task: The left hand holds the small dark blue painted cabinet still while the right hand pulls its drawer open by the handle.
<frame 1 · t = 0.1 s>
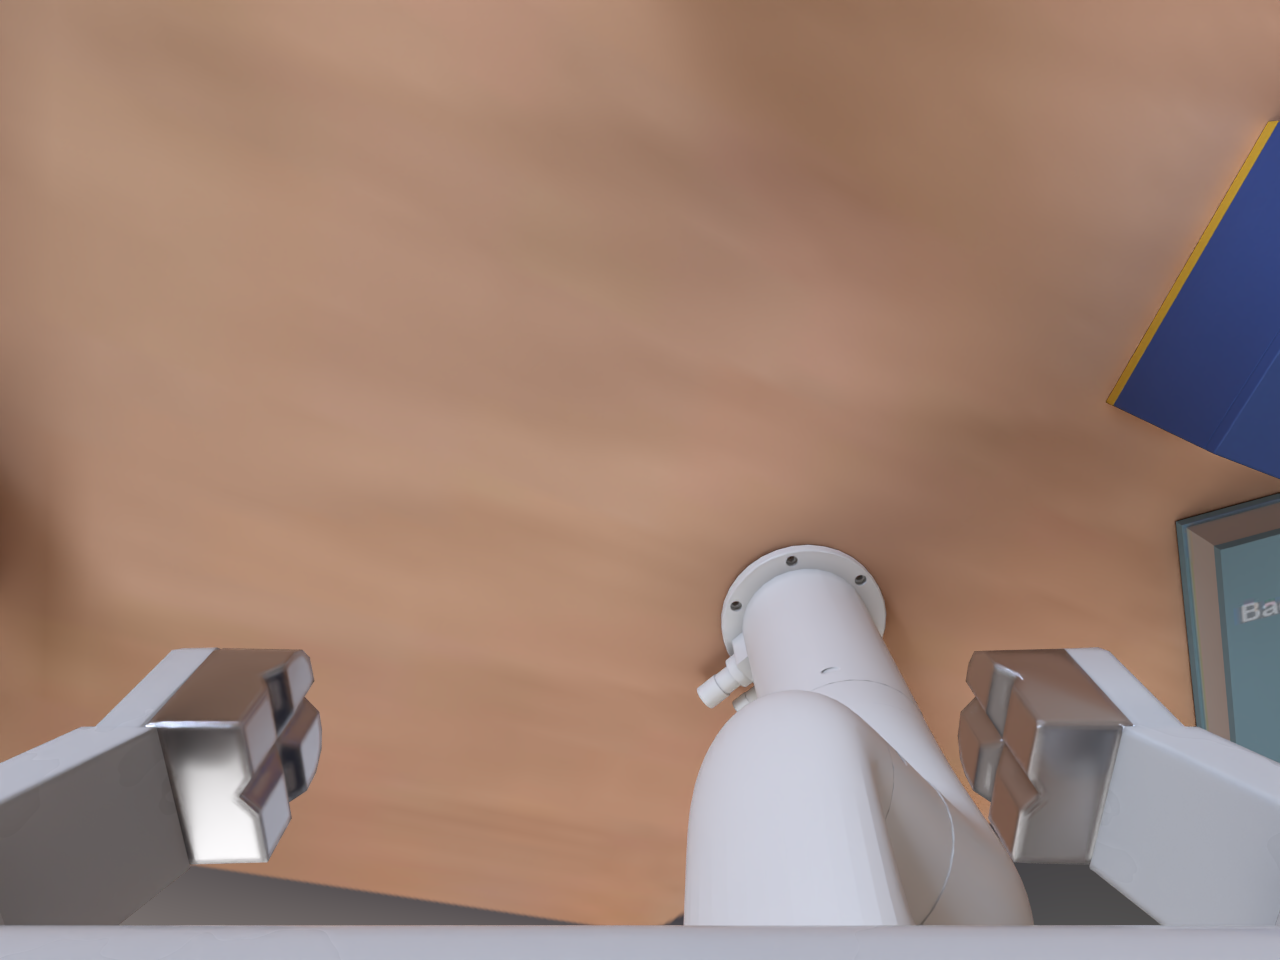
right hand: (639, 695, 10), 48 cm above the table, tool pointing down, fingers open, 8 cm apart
cabinet: (1222, 286, 56), on the table
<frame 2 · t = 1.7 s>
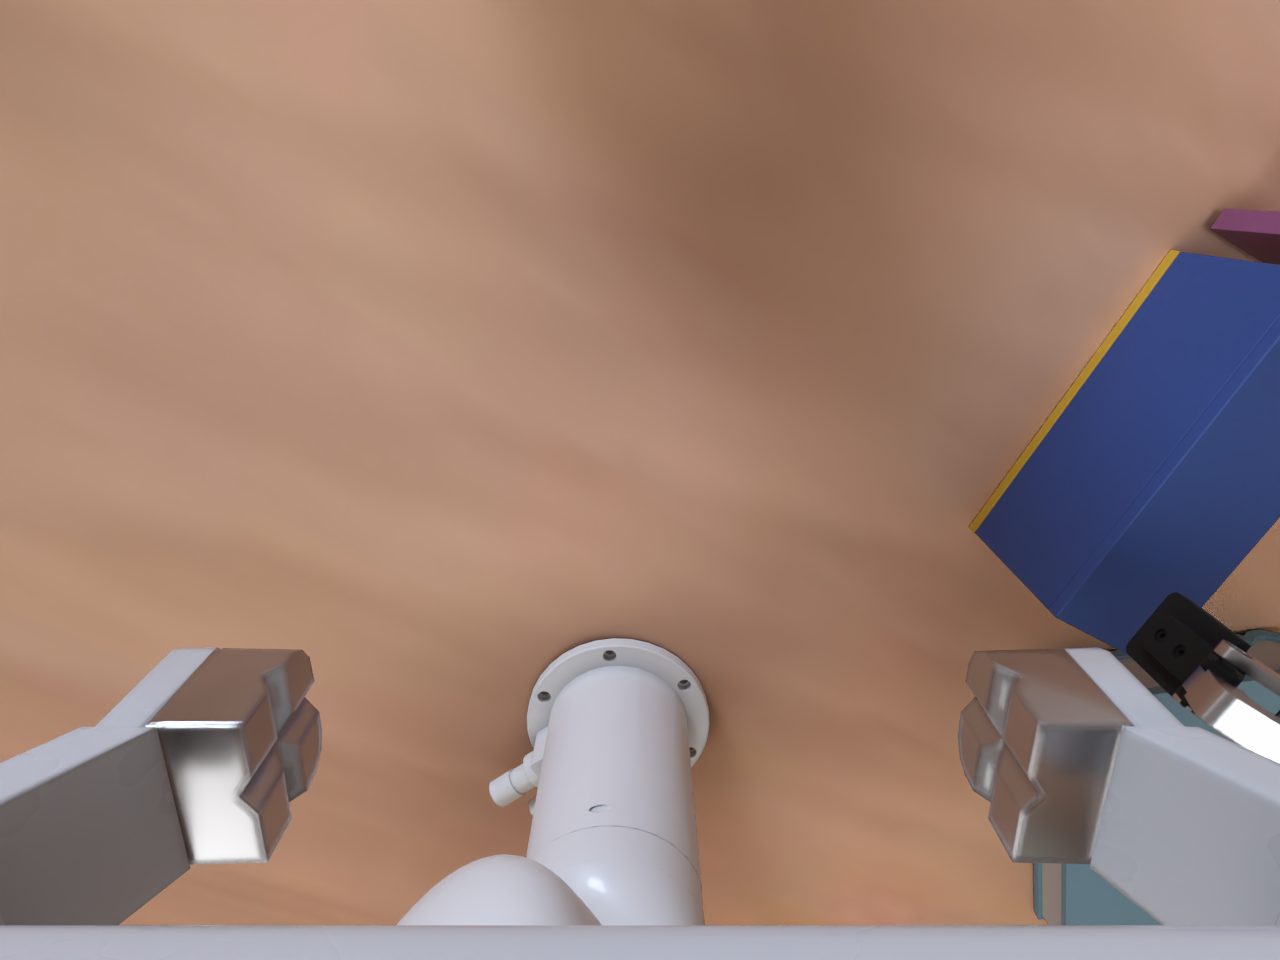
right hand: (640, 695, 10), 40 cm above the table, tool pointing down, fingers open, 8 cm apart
drawer: (1236, 353, 43), point 6 cm above the table, slide at 1.7 cm
cabinet: (1104, 420, 50), on the table
book: (1144, 777, 60), on the table
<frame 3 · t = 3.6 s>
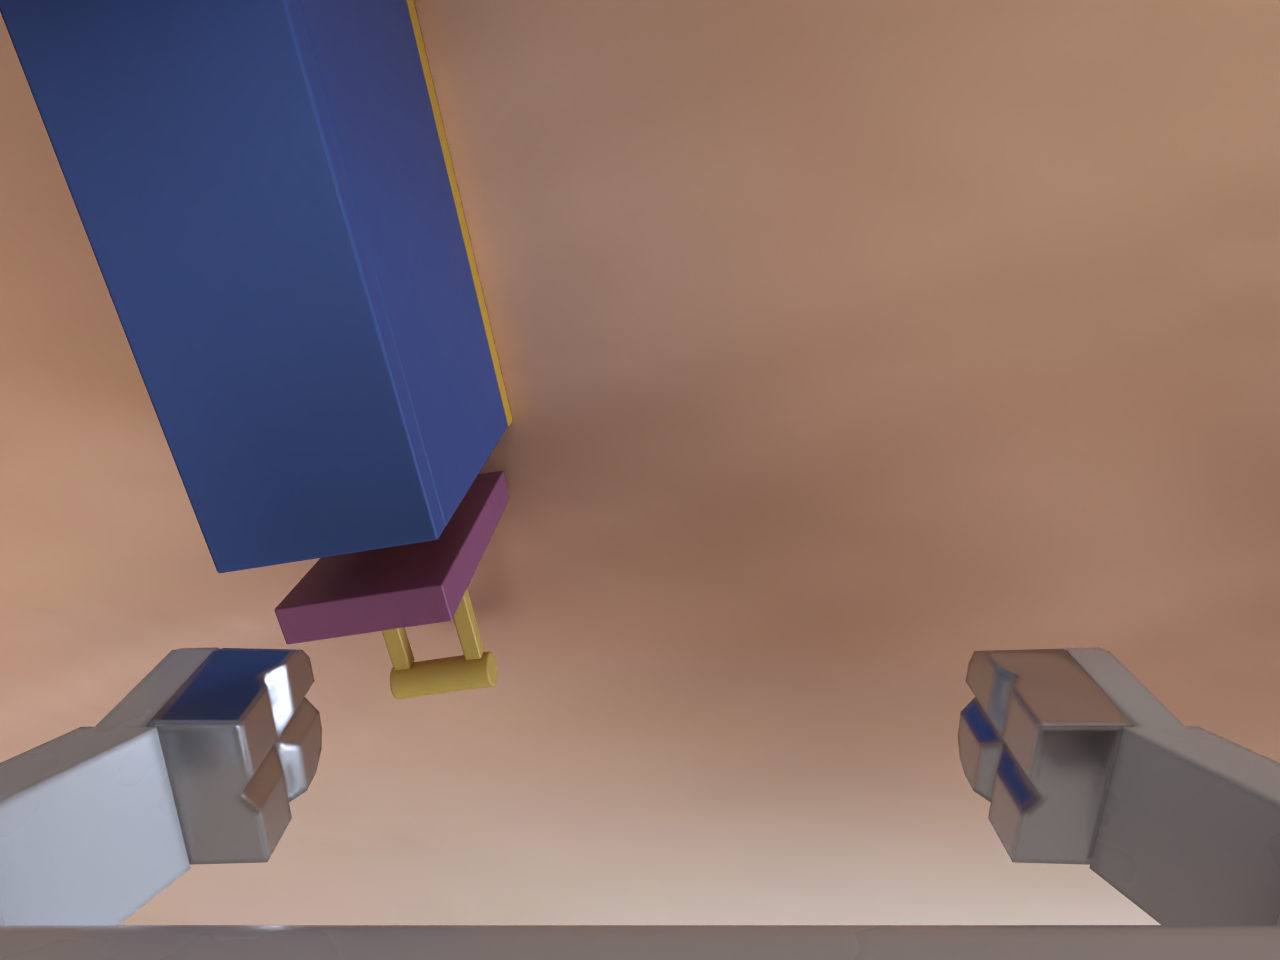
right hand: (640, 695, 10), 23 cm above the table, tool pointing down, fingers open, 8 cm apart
drawer: (360, 375, 26), point 6 cm above the table, slide at 1.7 cm
cabinet: (368, 178, 30), on the table, touching left hand
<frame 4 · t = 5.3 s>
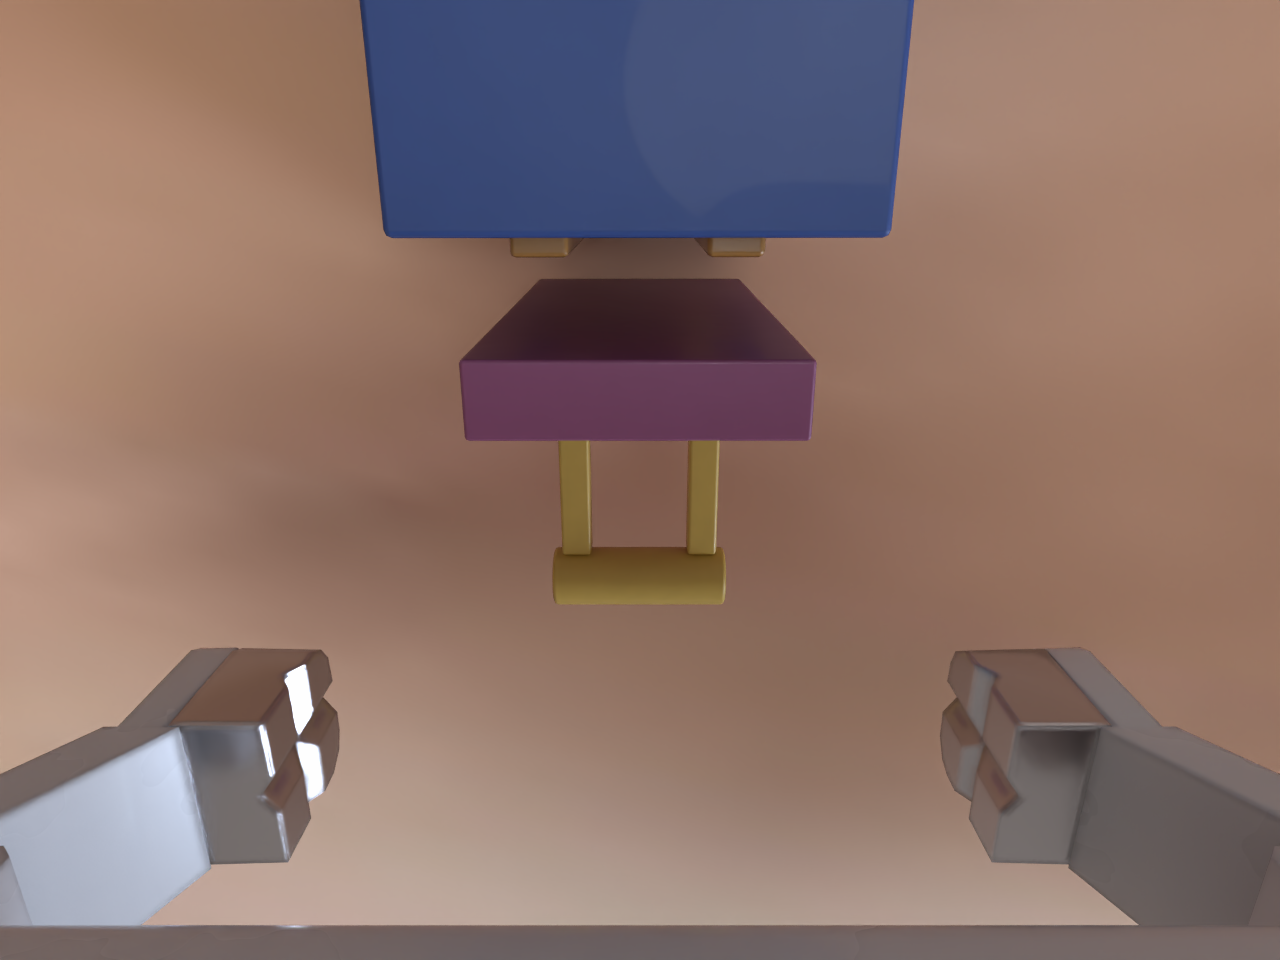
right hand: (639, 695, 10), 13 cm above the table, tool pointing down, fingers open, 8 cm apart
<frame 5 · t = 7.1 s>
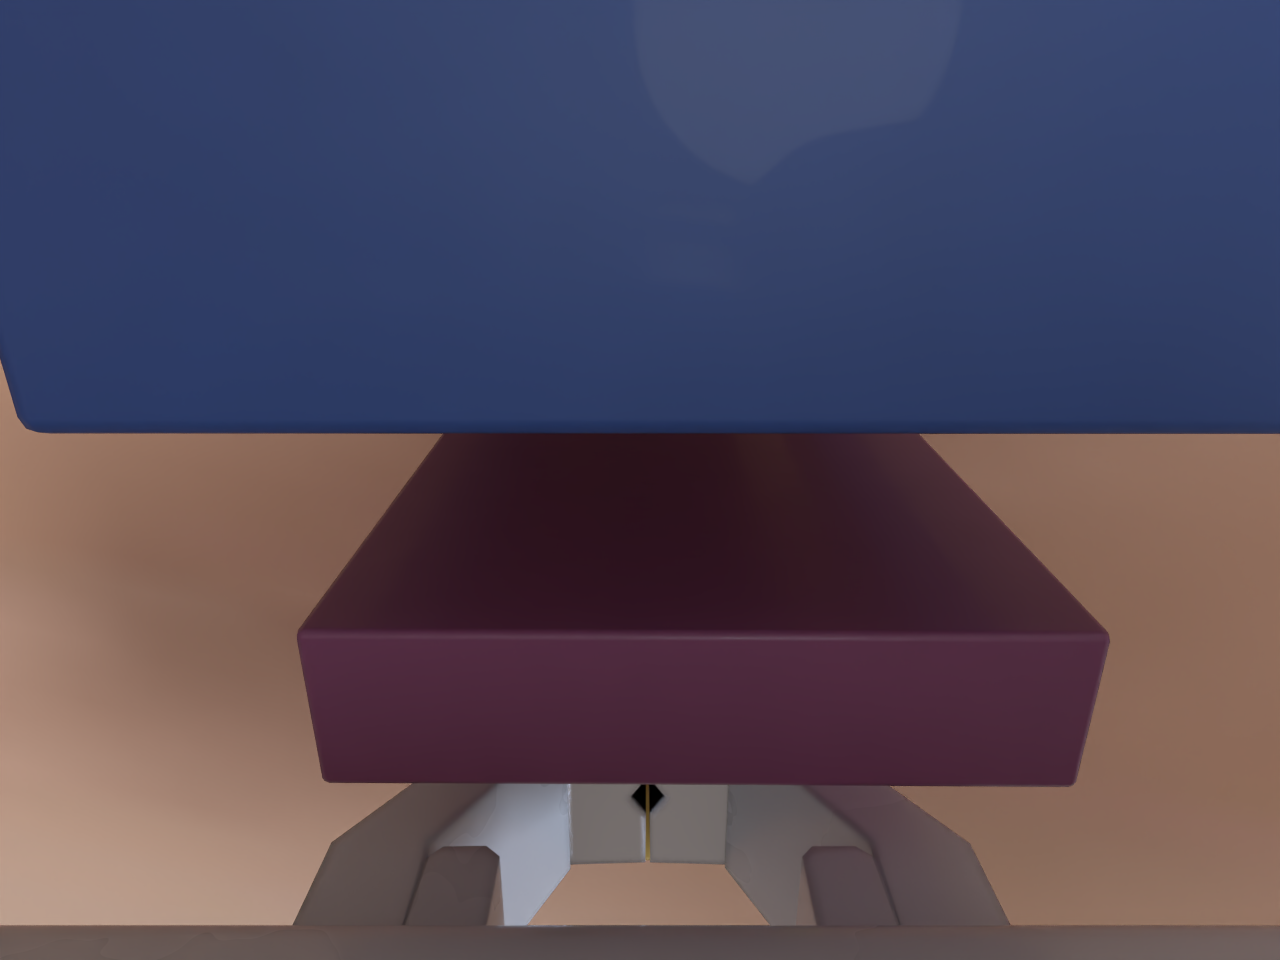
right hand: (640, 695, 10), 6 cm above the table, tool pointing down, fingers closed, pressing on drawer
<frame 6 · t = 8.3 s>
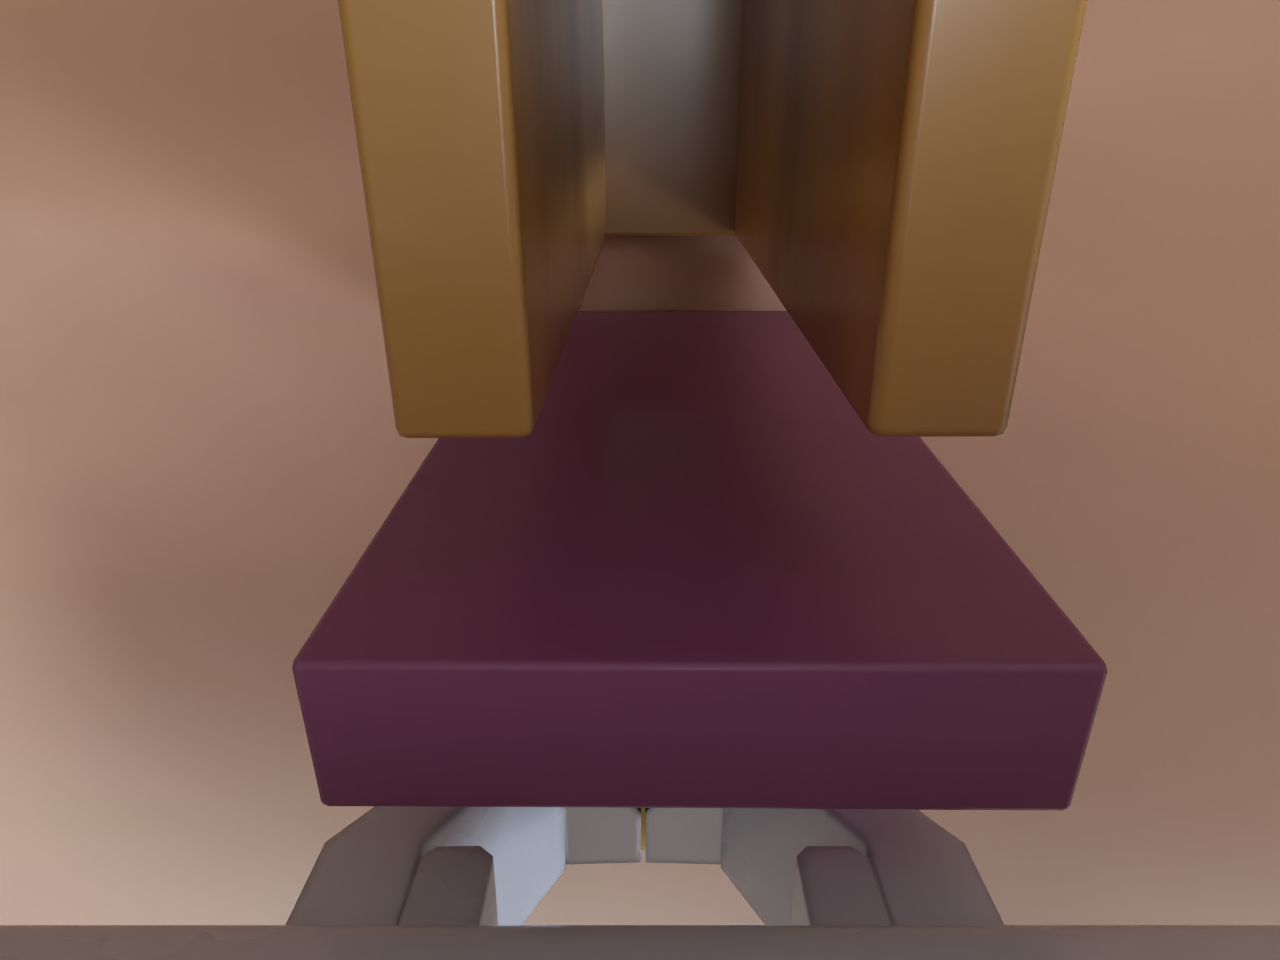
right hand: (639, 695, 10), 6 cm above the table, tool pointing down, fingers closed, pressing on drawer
when the left hand's fingers open (9 cm above the table, at t = 9.8 s): cabinet stays where it is, on the table.
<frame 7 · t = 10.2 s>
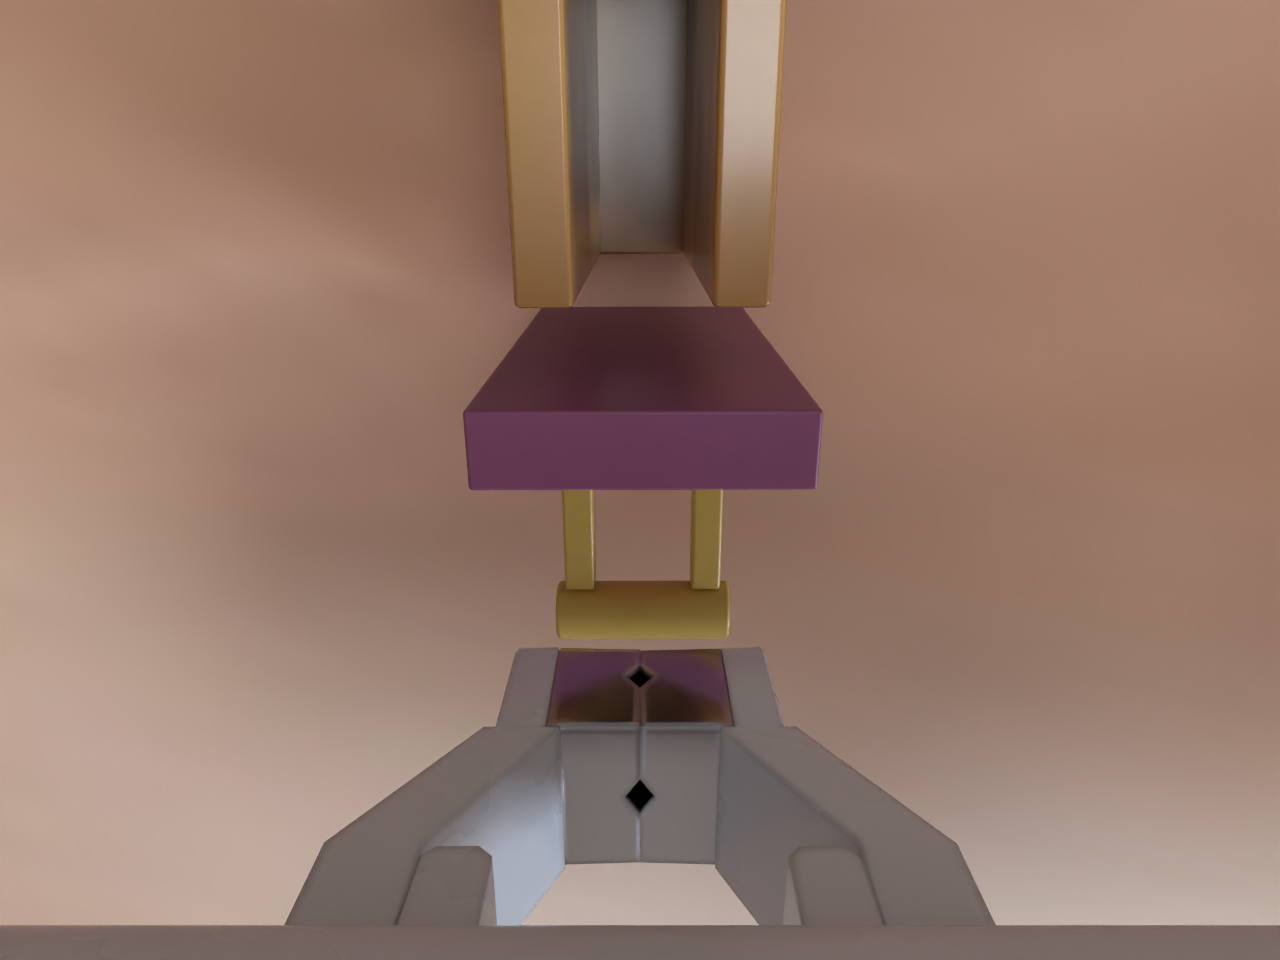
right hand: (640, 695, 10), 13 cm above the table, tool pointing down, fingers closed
drawer: (641, 29, 14), point 6 cm above the table, slide at 8.3 cm
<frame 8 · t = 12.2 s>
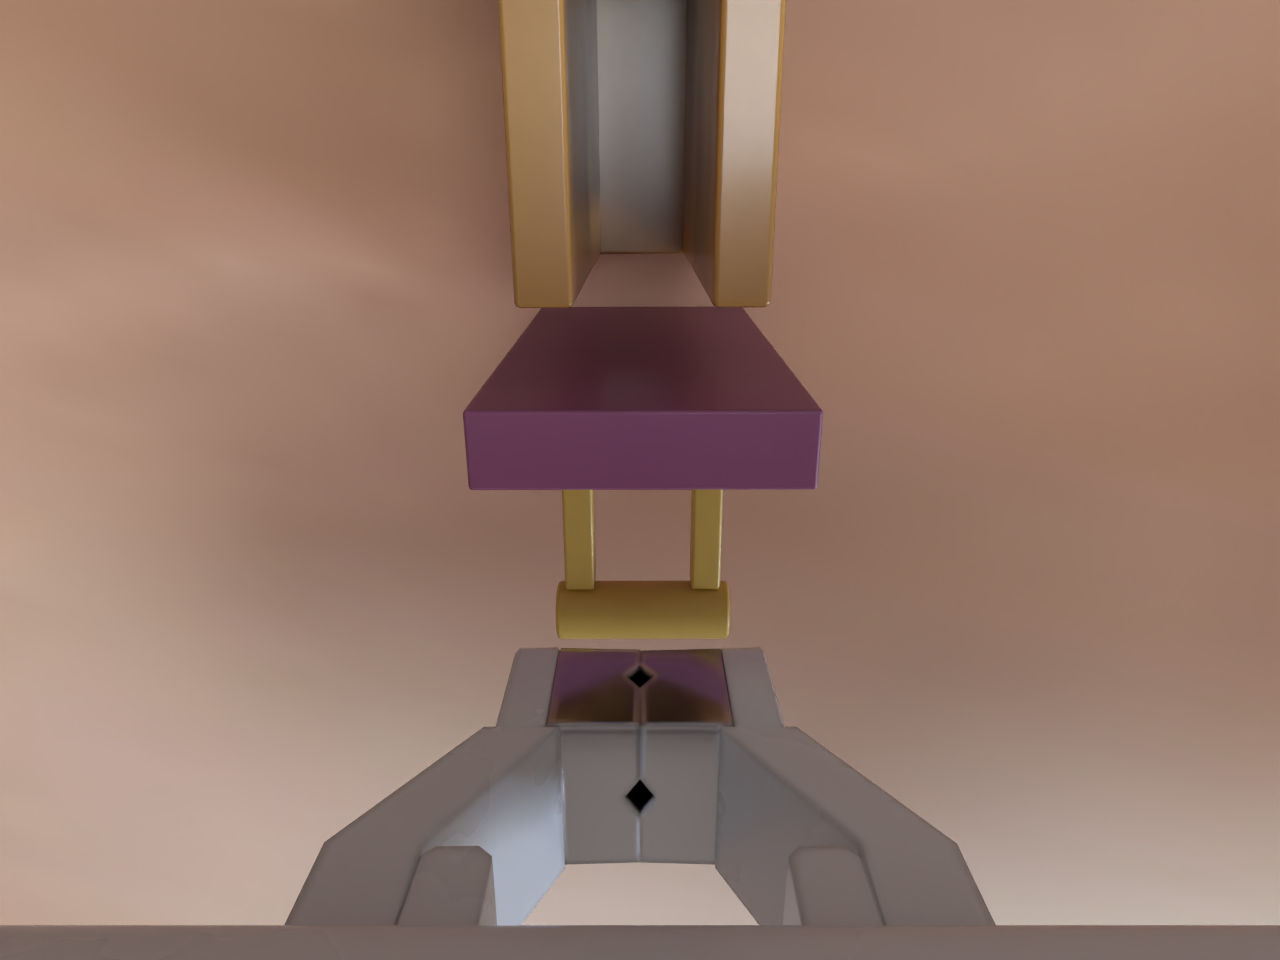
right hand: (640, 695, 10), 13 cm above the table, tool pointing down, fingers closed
drawer: (641, 29, 14), point 6 cm above the table, slide at 8.3 cm
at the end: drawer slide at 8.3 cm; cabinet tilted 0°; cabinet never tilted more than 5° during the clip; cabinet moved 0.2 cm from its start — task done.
